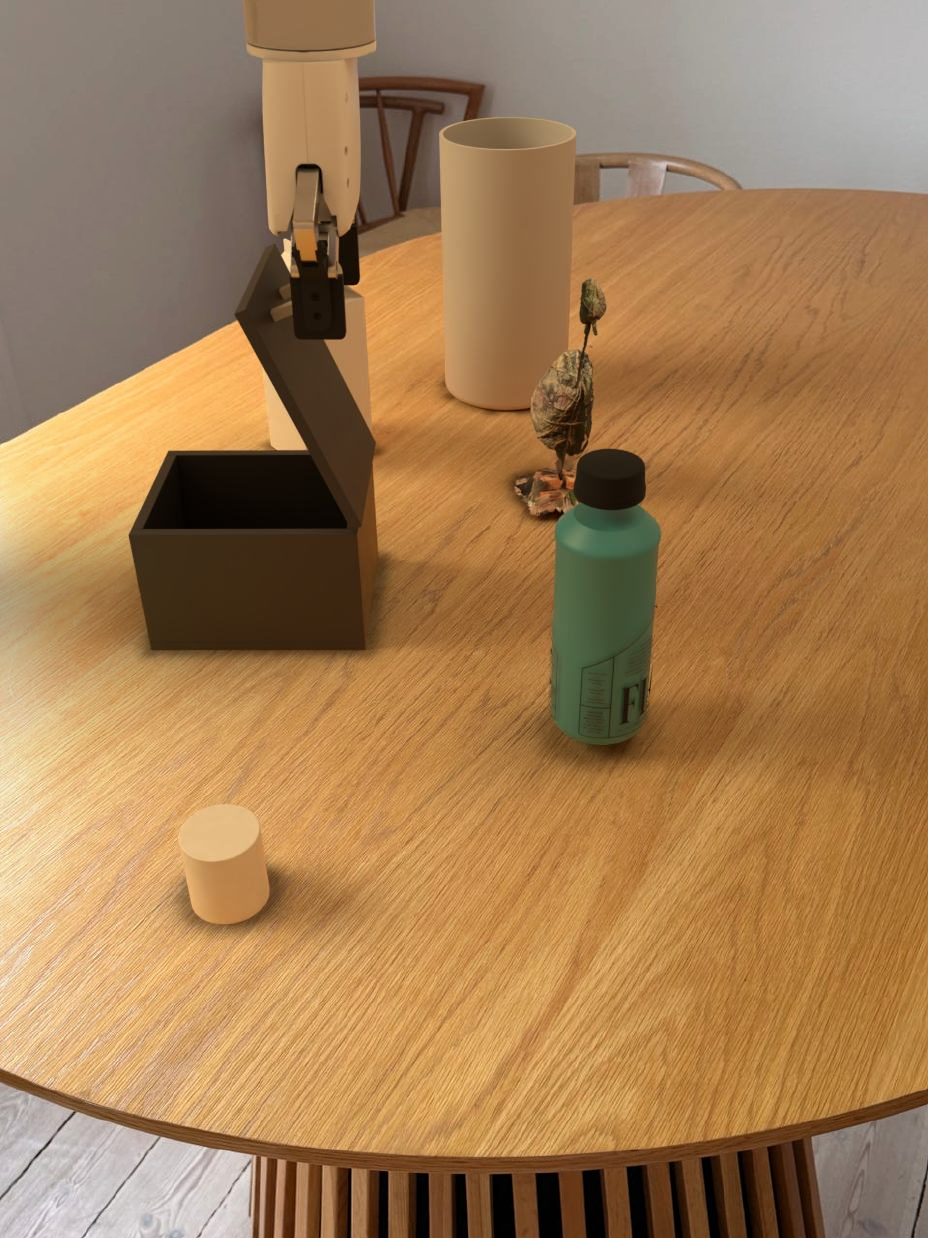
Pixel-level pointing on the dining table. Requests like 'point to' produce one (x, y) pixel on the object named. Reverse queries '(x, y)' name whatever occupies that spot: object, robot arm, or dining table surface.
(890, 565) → the dining table surface
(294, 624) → the dark hinged wooden chest
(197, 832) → the cylinder
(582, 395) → the plant with pod
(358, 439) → the lid
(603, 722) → the beverage bottle
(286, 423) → the milk carton
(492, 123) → the cylinder vase
